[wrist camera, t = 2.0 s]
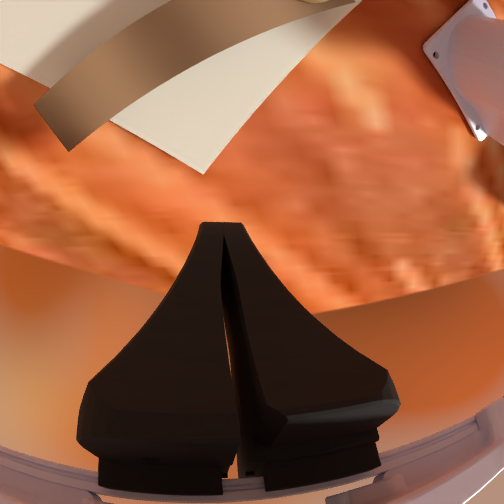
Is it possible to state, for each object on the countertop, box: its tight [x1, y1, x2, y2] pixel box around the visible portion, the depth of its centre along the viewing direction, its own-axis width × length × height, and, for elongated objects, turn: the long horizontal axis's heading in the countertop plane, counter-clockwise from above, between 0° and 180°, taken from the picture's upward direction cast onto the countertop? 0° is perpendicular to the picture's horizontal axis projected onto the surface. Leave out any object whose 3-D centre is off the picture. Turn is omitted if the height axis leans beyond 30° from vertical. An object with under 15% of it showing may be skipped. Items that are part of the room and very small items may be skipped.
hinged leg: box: [34, 0, 355, 152], centre depth 10 cm, size 14×3×4 cm, turn 116°
